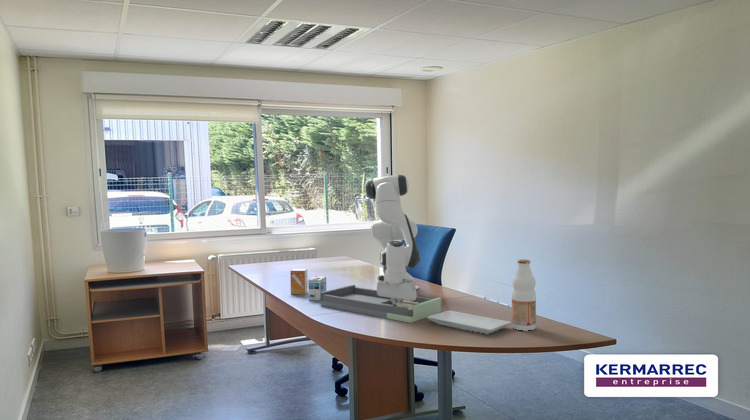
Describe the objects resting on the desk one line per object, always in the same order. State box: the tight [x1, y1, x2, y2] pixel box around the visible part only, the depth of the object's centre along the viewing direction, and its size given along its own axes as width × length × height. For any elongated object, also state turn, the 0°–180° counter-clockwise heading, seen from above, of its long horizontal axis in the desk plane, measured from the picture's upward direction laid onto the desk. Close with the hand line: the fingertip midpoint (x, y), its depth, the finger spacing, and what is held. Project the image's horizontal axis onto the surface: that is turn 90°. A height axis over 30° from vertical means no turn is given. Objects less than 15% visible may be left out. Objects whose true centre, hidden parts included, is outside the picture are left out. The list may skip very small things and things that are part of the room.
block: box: [396, 300, 419, 308], centre depth 248 cm, size 6×8×4 cm
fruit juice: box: [511, 259, 537, 332], centre depth 227 cm, size 9×9×28 cm
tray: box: [426, 310, 512, 335], centre depth 232 cm, size 17×31×4 cm, turn 47°
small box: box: [290, 268, 309, 296], centre depth 302 cm, size 8×6×13 cm
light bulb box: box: [308, 275, 327, 302], centre depth 289 cm, size 11×7×11 cm, turn 169°
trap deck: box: [320, 284, 442, 323], centre depth 265 cm, size 24×54×6 cm, turn 51°
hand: (396, 308), depth 252 cm, fingers closed
